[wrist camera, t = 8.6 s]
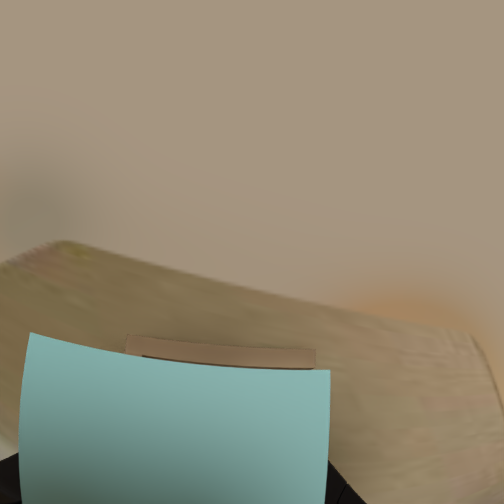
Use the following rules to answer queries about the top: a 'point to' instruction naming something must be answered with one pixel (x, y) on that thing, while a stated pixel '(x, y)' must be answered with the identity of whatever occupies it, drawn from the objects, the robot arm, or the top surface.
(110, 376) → the block
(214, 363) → the arena
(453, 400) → the top surface
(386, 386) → the top surface
